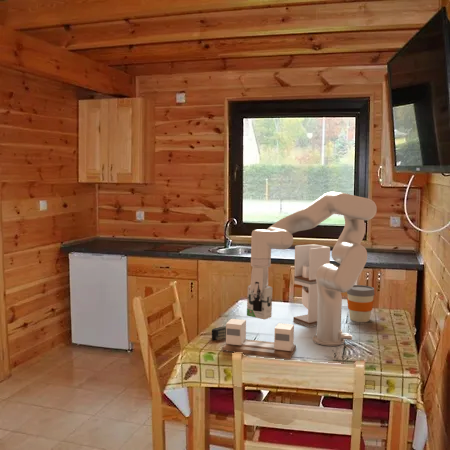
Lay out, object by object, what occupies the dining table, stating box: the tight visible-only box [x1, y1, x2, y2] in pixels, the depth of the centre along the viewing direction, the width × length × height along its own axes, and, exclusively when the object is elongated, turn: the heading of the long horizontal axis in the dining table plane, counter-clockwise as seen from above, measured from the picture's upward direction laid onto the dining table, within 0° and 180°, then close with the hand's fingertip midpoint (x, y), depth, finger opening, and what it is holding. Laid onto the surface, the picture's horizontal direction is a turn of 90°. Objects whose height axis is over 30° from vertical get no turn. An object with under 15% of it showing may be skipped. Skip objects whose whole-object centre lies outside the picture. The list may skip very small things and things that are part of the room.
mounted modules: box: [225, 318, 295, 351], centre depth 200 cm, size 25×7×8 cm, turn 72°
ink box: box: [246, 285, 273, 320], centre depth 199 cm, size 9×5×12 cm, turn 53°
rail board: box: [222, 338, 297, 360], centre depth 201 cm, size 26×12×2 cm, turn 72°
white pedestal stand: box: [292, 243, 331, 328], centre depth 237 cm, size 11×11×35 cm
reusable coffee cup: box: [346, 284, 376, 323], centre depth 244 cm, size 13×13×15 cm
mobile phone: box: [211, 325, 226, 341], centre depth 216 cm, size 5×3×15 cm
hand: (259, 308), depth 199 cm, fingers closed on ink box, 6 cm apart
